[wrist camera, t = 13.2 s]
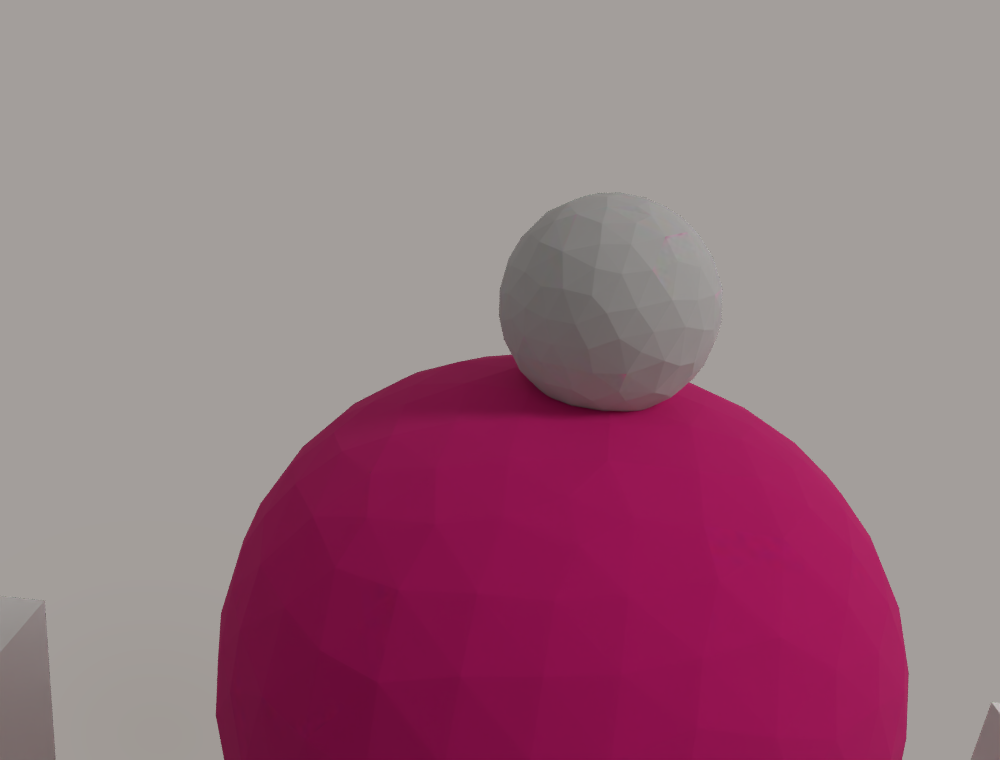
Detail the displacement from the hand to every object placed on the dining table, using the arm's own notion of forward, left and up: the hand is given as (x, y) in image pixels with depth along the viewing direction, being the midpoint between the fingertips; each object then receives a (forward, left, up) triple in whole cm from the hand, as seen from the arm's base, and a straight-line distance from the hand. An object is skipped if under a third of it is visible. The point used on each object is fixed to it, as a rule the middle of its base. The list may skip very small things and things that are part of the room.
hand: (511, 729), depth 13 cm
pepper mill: (0, +3, -12) cm, 13 cm away
